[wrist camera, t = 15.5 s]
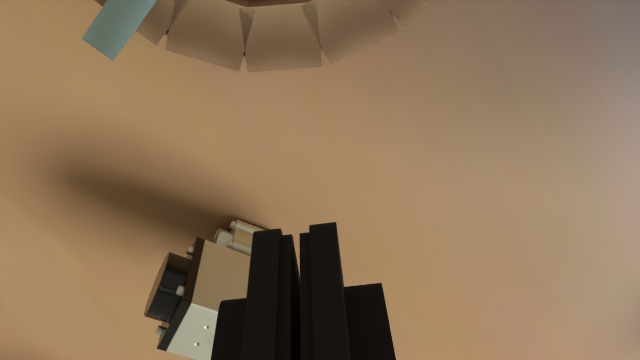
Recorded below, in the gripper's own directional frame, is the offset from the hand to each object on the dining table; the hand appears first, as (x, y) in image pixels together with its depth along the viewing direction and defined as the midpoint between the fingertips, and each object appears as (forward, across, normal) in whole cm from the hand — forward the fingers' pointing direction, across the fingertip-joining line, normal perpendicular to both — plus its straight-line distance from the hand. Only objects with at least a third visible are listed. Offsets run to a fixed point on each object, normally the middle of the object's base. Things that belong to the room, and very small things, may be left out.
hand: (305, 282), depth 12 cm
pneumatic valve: (+27, +7, +20) cm, 35 cm away
